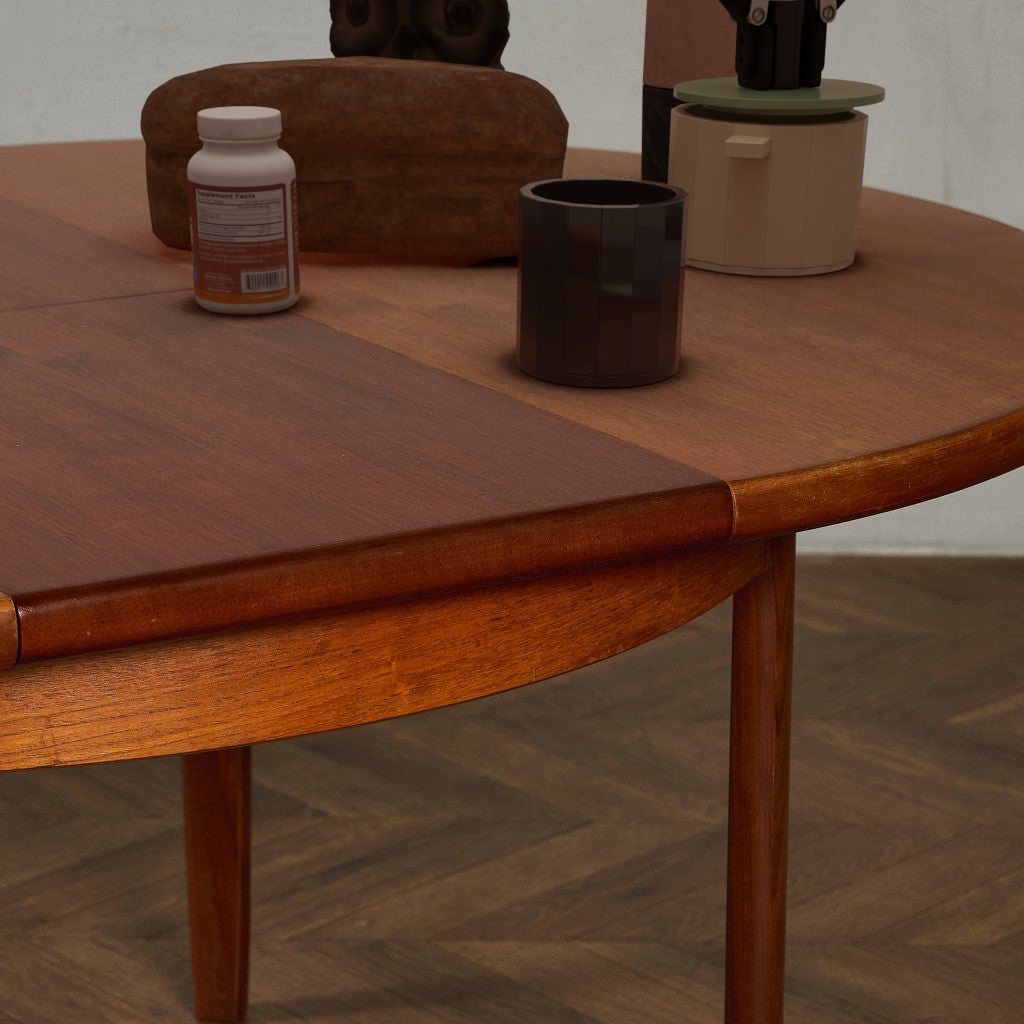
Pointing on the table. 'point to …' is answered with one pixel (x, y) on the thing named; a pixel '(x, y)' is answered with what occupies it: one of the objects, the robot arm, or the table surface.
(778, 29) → the lid
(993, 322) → the table surface
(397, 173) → the bread
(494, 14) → the owl
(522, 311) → the cup
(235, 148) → the pill bottle
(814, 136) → the pot
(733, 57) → the travel mug
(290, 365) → the table surface
